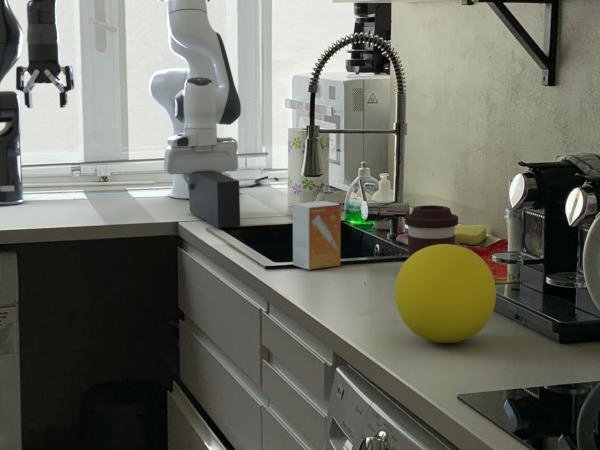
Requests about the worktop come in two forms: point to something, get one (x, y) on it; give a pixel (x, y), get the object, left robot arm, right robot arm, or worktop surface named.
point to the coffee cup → (430, 227)
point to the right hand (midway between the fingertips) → (202, 189)
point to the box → (215, 198)
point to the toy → (445, 293)
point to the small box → (316, 234)
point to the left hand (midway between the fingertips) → (46, 107)
